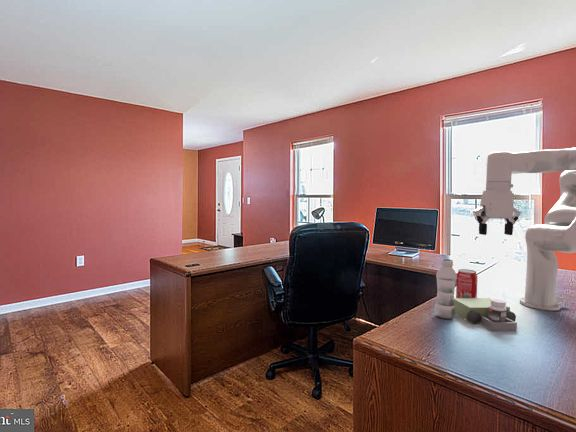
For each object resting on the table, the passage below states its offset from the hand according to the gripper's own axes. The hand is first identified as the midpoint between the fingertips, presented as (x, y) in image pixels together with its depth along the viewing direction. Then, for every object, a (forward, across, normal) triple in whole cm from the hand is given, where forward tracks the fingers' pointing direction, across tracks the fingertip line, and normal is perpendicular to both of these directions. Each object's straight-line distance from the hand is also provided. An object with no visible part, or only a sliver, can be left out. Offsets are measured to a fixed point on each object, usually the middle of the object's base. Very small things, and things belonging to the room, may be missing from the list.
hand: (495, 234), depth 118 cm
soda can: (+28, +4, -9) cm, 30 cm away
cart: (+28, +8, +8) cm, 30 cm away
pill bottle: (+28, +8, +13) cm, 32 cm away
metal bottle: (+28, +21, +5) cm, 36 cm away
